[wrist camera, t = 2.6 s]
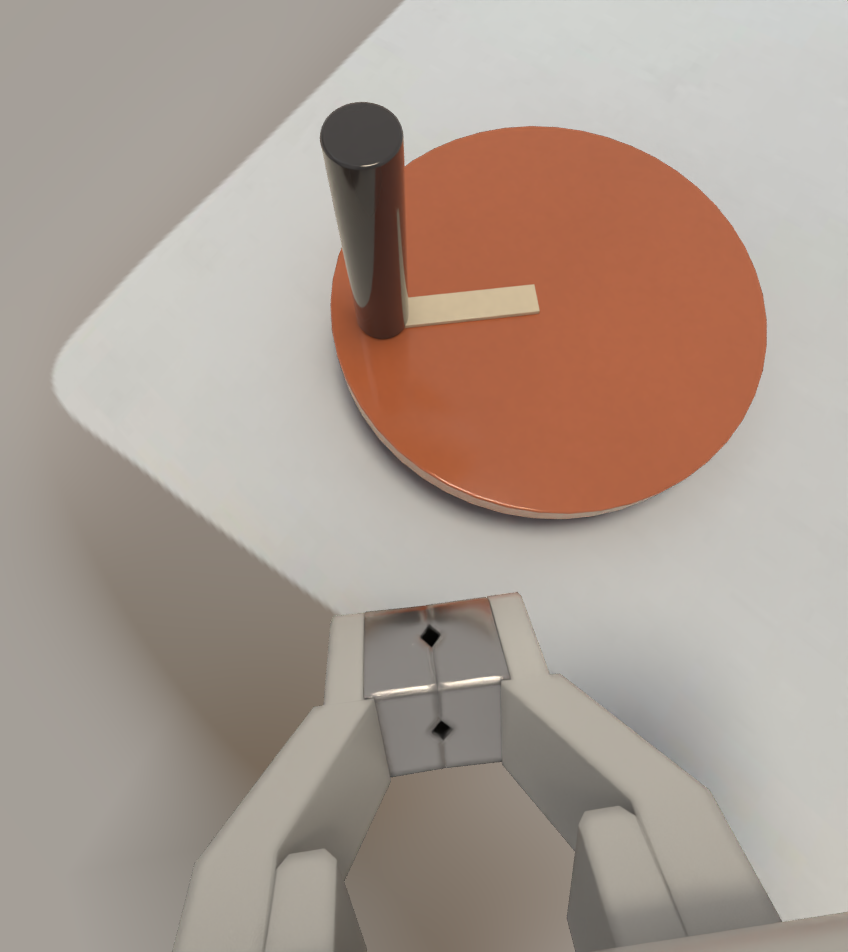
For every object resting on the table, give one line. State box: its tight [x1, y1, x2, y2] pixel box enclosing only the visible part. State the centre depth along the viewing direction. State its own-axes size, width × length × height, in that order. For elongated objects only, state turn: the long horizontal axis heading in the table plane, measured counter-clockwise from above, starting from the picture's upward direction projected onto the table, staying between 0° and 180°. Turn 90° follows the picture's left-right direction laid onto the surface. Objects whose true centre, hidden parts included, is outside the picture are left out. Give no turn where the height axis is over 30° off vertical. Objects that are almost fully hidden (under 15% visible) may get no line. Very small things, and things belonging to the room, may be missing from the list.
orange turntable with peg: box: [320, 102, 767, 519], centre depth 17 cm, size 17×17×9 cm
